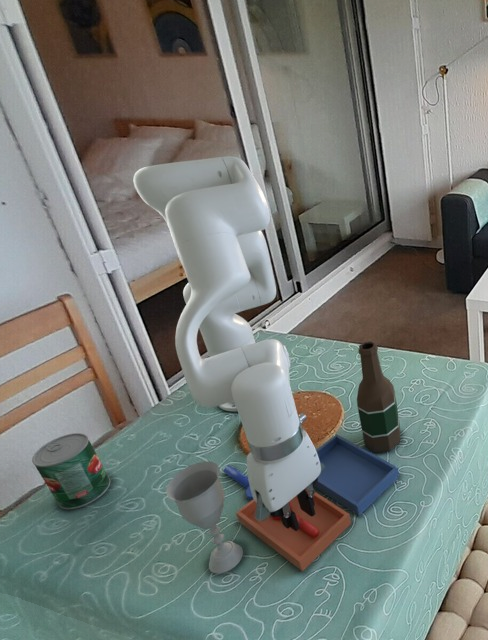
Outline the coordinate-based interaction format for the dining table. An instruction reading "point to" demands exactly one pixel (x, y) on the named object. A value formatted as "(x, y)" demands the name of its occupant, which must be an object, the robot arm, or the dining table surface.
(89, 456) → the canned tomato
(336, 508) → the terracotta tray
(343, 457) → the blue tray
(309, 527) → the red spoon
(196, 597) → the dining table surface
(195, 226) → the robot arm
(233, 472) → the blue spoon
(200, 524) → the chalice
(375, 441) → the beer bottle
